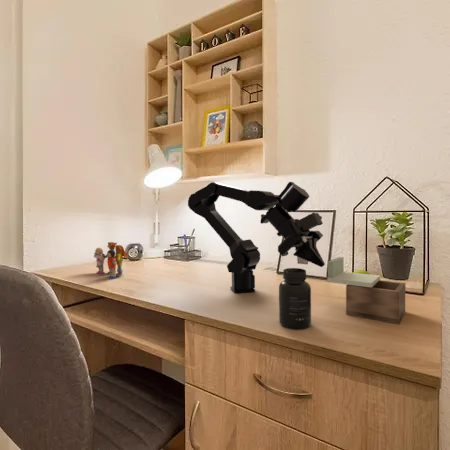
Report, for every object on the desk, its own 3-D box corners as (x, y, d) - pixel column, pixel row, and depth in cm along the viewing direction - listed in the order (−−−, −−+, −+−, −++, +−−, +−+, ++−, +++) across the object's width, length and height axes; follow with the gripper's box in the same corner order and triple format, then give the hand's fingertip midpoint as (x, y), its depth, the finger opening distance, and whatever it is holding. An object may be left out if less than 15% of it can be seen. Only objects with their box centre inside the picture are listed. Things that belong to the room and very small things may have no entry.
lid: (327, 281, 74) (327, 261, 74) (339, 275, 82) (339, 256, 82) (371, 287, 68) (371, 265, 68) (380, 279, 76) (380, 259, 76)
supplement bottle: (275, 319, 69) (275, 267, 69) (304, 318, 70) (304, 266, 69) (284, 331, 62) (283, 273, 62) (316, 329, 63) (315, 272, 62)
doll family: (92, 272, 129) (91, 242, 128) (114, 269, 135) (113, 240, 135) (112, 280, 113) (111, 245, 113) (136, 276, 120) (135, 243, 119)
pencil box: (346, 314, 72) (346, 285, 71) (356, 304, 80) (357, 277, 79) (399, 324, 65) (399, 292, 65) (405, 311, 73) (405, 283, 73)
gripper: (288, 202, 75) (333, 249, 69) (315, 203, 90) (355, 242, 83) (261, 233, 80) (301, 279, 74) (291, 229, 95) (327, 267, 88)
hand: (323, 265), depth 80 cm, fingers closed
